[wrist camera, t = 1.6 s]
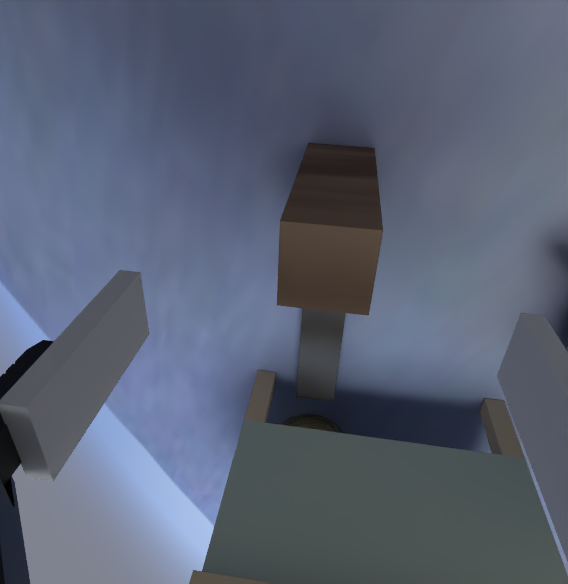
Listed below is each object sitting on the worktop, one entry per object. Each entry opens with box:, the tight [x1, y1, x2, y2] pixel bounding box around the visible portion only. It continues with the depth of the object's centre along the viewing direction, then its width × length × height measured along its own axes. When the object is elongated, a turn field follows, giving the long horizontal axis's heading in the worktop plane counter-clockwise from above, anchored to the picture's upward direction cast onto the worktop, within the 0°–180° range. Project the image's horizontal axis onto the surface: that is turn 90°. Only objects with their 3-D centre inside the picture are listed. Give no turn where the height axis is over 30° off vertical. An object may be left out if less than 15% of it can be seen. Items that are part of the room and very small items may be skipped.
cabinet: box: [189, 370, 568, 584], centre depth 33 cm, size 12×21×18 cm, turn 88°
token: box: [282, 414, 342, 433], centre depth 41 cm, size 6×6×2 cm
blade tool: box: [277, 143, 383, 401], centre depth 28 cm, size 20×4×12 cm, turn 178°
